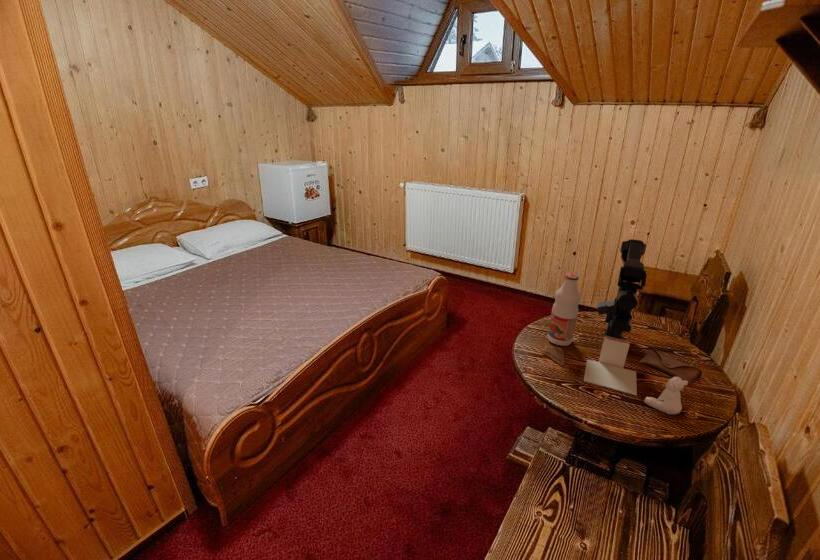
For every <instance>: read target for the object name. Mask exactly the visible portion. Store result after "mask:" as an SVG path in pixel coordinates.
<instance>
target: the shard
mask: <svg viewBox="0 0 820 560" xmlns="http://www.w3.org/2000/svg"><path fill="white" fill-rule="evenodd" d="M541 354H543V355H545V356H547V357H548V358H550V359H551V360H553V361H554V362H555V363H557V364H558V365H560V366H562V367H564V366H565V353H564V349H562V348H560V347H557V346H552V345H544V349H543V350H542V353H541Z"/></svg>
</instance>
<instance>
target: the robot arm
mask: <svg viewBox="0 0 820 560" xmlns="http://www.w3.org/2000/svg"><path fill="white" fill-rule="evenodd" d="M646 249H647V244H645V243H644V241H643V240H639V239H633V238H631V239H628V240H624V241H622V242H621V244H620V249H619V253H621V254H620V260H621V261H622V266H620V269H619V272H618V273H619V274H618V278H617V279H618V280H617V288H618V289H617V293H616V297H615V298H614V300H606V301H598V302H597V304H596V309H597V314H598V315H599V316H603V315H605V318H604V323H607V327H606V328H605V329H604V334H603V338H604V337H605V336H610V337H614V338H618V339H623V332H624V333H631V330H632V320H633V315H632V312H633V310H634V309H635V308H636V307H638V294H637V293H638V291H643V288H644V287H646V283H647V276H648V274H647V270H645V264H644V263H643V262H641V259H642V257H643V256H644V255H645V253H646Z"/></svg>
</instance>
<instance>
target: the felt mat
mask: <svg viewBox="0 0 820 560" xmlns="http://www.w3.org/2000/svg"><path fill="white" fill-rule="evenodd" d="M583 382H584V383H589V384H592V385H596V386H598V387H599V386H600V387H604V388H606V389H610V390H613V391H617V392H621V393H625V394H629V395H632V396H636V397H637V394H638V393H637V391H638V389H637V388H638V387H637V371H634V370H631V369H627V368H624V367H623V368H619V367H616V366H612V365H608V364H604V363H600V362H599V361H595V360H592V359H588V358H587V359H586V363H585V369H584V376H583Z"/></svg>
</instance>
